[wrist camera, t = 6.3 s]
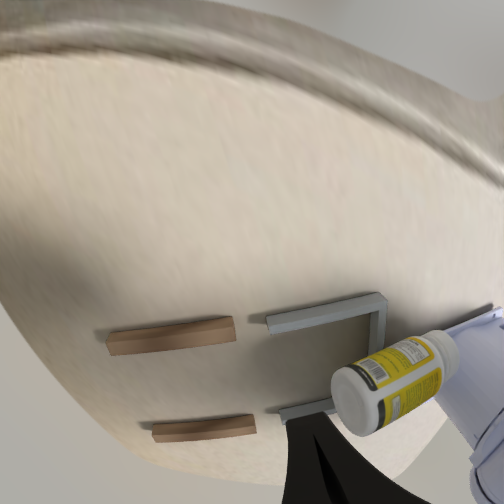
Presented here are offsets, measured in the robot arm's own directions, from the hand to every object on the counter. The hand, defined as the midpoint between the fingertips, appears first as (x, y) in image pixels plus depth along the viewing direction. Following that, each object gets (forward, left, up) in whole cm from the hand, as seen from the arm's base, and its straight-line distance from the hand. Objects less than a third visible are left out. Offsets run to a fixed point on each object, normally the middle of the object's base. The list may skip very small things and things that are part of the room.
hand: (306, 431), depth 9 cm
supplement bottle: (-3, +5, -5) cm, 8 cm away
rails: (+6, +5, -9) cm, 12 cm away
